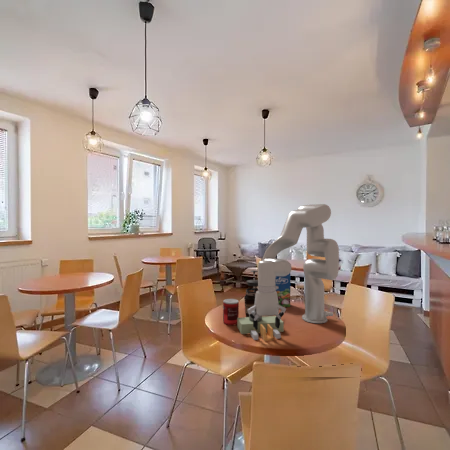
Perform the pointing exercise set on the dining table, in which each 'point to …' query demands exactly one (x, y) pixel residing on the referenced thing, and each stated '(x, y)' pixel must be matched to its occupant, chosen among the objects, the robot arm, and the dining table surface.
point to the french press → (252, 284)
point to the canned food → (230, 311)
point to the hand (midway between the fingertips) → (266, 328)
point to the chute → (264, 335)
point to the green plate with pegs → (247, 325)
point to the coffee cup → (249, 302)
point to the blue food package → (283, 290)
